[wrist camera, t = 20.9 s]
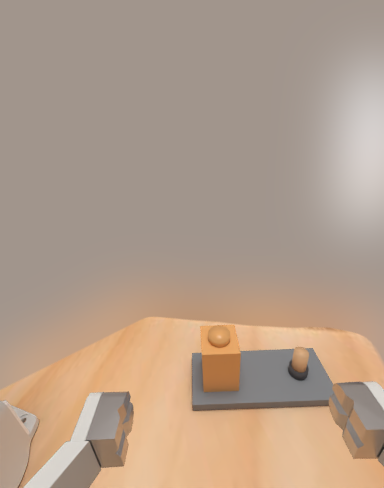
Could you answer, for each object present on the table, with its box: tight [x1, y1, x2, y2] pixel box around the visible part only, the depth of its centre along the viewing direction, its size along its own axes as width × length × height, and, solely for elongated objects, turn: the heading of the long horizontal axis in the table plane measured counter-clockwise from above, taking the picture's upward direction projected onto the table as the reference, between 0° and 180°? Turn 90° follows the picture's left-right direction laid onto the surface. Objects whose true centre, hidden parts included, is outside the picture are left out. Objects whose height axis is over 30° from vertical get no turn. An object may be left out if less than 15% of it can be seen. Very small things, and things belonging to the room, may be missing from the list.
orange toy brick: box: [200, 325, 241, 392], centre depth 41 cm, size 6×6×10 cm
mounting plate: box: [192, 347, 334, 411], centre depth 42 cm, size 24×10×6 cm, turn 90°
